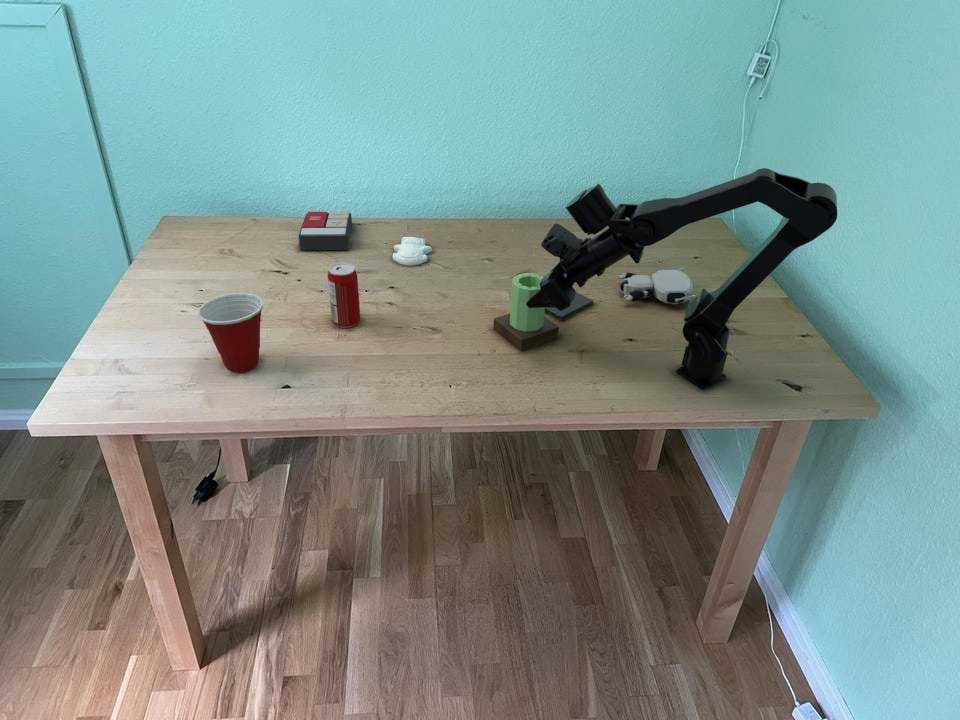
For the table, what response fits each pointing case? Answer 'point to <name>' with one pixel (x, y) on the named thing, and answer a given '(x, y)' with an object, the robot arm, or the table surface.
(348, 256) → the table surface
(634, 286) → the robot toy
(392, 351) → the table surface
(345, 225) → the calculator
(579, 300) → the slate coaster
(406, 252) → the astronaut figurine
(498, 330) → the stacking stand
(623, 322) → the table surface
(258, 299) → the plastic cup
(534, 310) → the green faceted hollow cylinder
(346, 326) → the soda can
